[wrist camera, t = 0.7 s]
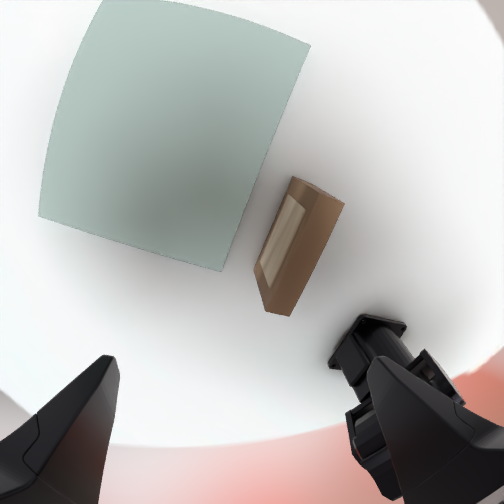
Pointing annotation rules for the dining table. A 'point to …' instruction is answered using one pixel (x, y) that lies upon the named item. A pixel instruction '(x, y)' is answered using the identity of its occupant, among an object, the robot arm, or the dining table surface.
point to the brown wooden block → (295, 245)
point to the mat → (166, 126)
